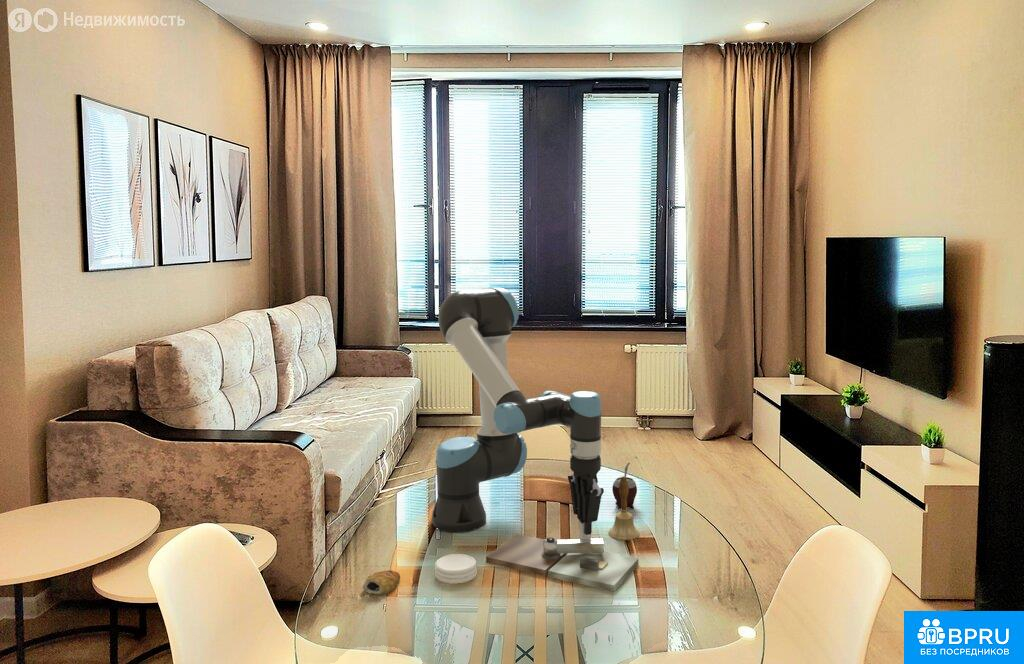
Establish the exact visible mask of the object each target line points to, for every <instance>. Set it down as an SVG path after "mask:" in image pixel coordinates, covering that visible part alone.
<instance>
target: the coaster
mask: <svg viewBox="0 0 1024 664" xmlns="http://www.w3.org/2000/svg"><path fill="white" fill-rule="evenodd" d="M477 565H478V564H477V561H476V559H475V557H473V556H471V555H468V554H463V553H454V554H451V553H450V554H446V555H443V556H441V557H440V558H439V557H438V559H437V560H436V561H435V563H434V571H435V572H434V575H435V578H436V580H438V581H439V582H441V583H444V584H451V585H458V583H460V584H464V583H469V582H470V580H471V581H472V580H473V579H475V578H476V576H477V574H478V572H477V570H478V569H477Z"/></svg>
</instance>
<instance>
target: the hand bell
mask: <svg viewBox="0 0 1024 664" xmlns="http://www.w3.org/2000/svg"><path fill="white" fill-rule="evenodd" d="M620 477H621V480H620V483H619V494H620V497H621V509H620V511H619V512H617V513H616V514H615V518H614V523H613V525H612V527H611V528H610V529H609V530H608V533H607V534H608V536H609V537H611V538H613V539H616V540H621V541H629V540H630V541H631V540H635V539H637V538H638V537H639V536H640V534H641V533H640V531H639V530H638V529H637V528H636V526H635V524H634V517H633V515H632V513H630V512H628V508H627V497H628V492H629V486H628V483H627V480H626V477H627V476H626V477H624V476H620Z"/></svg>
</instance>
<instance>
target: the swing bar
mask: <svg viewBox="0 0 1024 664" xmlns="http://www.w3.org/2000/svg"><path fill="white" fill-rule="evenodd" d="M604 552H605V542H604V540H603V538H602V537H593V538H592V537H591V538H590V539H579V538H578V539H556V538H555V537H546V538H545V540H544V541H543V553H544V554H545V555H548V556H554V555H557V554H562V553H592V554H595V553H604Z"/></svg>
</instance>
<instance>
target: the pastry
mask: <svg viewBox="0 0 1024 664" xmlns="http://www.w3.org/2000/svg"><path fill="white" fill-rule="evenodd" d="M400 579H401V575H400V573H399V572H398V571H395V570H392V569H388V570H382V571H376V572H373V573H372V574H370V575H369V576H367V578H366V580H365V582H364V584H363V585H362V589H363V591H364V592H365V591H366V592H365V593H367V592H368V594H371V593H374V594H373V595H379V596H382V595H387V594H389V593H390V592H391V591H394V588H395V589H396V587H397V586H398V585H399V583H400V582H401V581H400ZM399 581H400V582H399ZM397 584H398V585H397ZM369 592H370V593H369Z"/></svg>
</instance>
